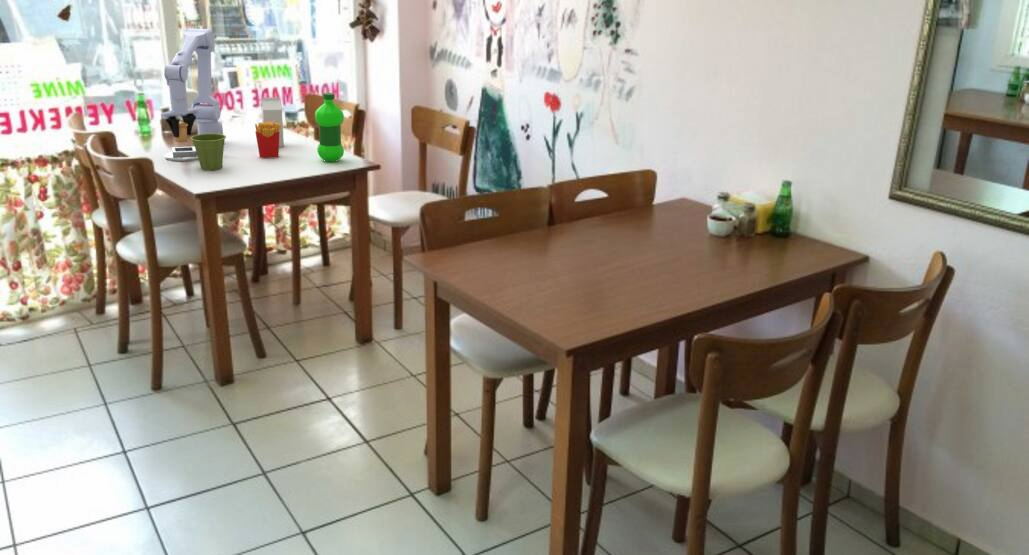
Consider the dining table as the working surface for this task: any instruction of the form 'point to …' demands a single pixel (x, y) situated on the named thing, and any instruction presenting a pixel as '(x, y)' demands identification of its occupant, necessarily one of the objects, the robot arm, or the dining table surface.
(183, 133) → the pin
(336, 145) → the plastic bottle
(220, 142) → the plant pot
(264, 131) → the french fries
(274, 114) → the milk carton
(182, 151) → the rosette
